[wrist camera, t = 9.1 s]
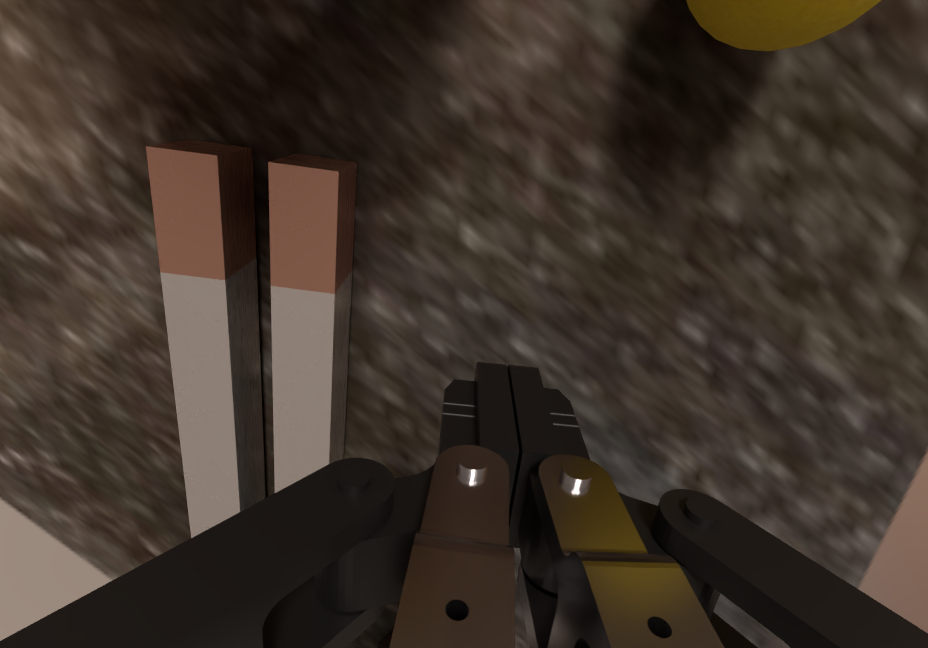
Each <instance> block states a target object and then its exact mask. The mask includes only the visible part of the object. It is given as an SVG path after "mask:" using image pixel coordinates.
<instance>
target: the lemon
mask: <svg viewBox="0 0 928 648" xmlns="http://www.w3.org/2000/svg"><path fill="white" fill-rule="evenodd" d="M686 1H687V4H688V7H689V10H690V11H691V13H692V14H693V16H694V17H695V19H696V20H697V22H698V24H699V25H700V26H701V27H702V28H703V29H704V30H706V31H707V32H708V33H709V34H710V35H711V36H713V37H714V38H715V39H717V40H718V41H721V42H723V43H726V44H728V45H730V46H733V47H735V48H738V49H746V50H757V51H774V50H780V49H785V48H791V47H796V46H801V45H804V44H807V43H810V42H812V41H815V40H817V39H819V38H821V37H824V36H826V35H828V34H830V33H832V32H835V31H837V30H839V29H841V28H843V27H845V26H846V25H848V24H850V23H851V22H853V21H854V20H856V19H857V18H858V17H860V16H861V15H862V14H864V13H865V12H866V11H868V10H869V9H871V8H872V7H873V6H875V5H876V4H877V3H879V2H880V1H881V0H686Z"/></svg>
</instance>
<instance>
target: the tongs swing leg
mask: <svg viewBox="0 0 928 648" xmlns="http://www.w3.org/2000/svg"><path fill="white" fill-rule="evenodd" d="M268 170H269V220H270V271H271V322H272V373H273V423H274V474H275V493H276V492H278V491H280V490H282V489H284V488H286V487H287V486H289V485H291V484H293V483H295V482H297V481H299V480H300V479H302V478H304V477H306V476H308V475H310V474H312V473H313V472H315V471H317V470H319V469H321V468H323V467H325V466H326V465H328V464H330V463H333V462H335V461H338V460H342V459H343V457H344V435H345V414H346V392H347V371H348V349H349V327H350V306H351V284H352V263H353V241H354V220H355V198H356V177H357V162H355V161H348V160H341V159H333V158H326V157H319V156H312V155H304V154H297V153H296V154H293V155H290V156H286V157H283V158H280V159H276V160H273V161H270V162H268Z"/></svg>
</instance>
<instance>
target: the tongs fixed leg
mask: <svg viewBox="0 0 928 648" xmlns="http://www.w3.org/2000/svg"><path fill="white" fill-rule="evenodd" d="M146 152H147V160H148V169H149V178H150V186H151V195H152V203H153V212H154V221H155V229H156V238H157V246H158V255H159V264H160V272H161V281H162V289H163V298H164V307H165V315H166V324H167V332H168V341H169V350H170V358H171V367H172V375H173V384H174V393H175V401H176V410H177V418H178V427H179V436H180V444H181V453H182V461H183V470H184V478H185V487H186V496H187V504H188V513H189V521H190V530H191V538H193V537H195V536H196V535H198V534H200V533H202V532H204V531H206V530H208V529H209V528H211V527H213V526H215V525H217V524H219V523H221V522H222V521H224V520H226V519H228V518H230V517H232V516H234V515H235V514H237V513H239V512H241V511H243V510H245V509H247V508H248V507H250V506H252V505H254V504H256V503H258V502H260V501H261V500H263V499H265V498H266V497H265V471H264V445H263V418H262V392H261V366H260V340H259V314H258V287H257V261H256V235H255V209H254V183H253V156H252V148H250V147H242V146H234V145H227V144H219V143H212V142H204V141H196V140H186V141H179V142H172V143H165V144H158V145H151V146H146Z"/></svg>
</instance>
